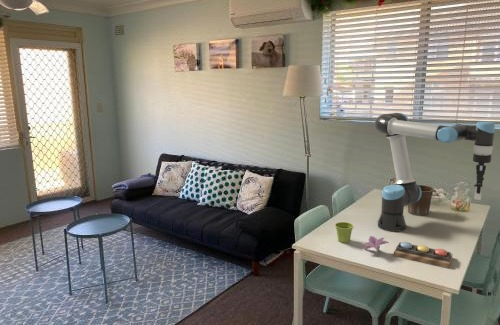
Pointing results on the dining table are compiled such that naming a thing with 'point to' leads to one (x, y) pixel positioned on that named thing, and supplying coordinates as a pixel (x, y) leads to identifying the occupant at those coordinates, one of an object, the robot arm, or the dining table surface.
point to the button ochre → (423, 249)
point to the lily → (374, 243)
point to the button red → (441, 252)
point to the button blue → (406, 245)
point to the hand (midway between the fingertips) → (477, 195)
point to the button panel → (423, 256)
